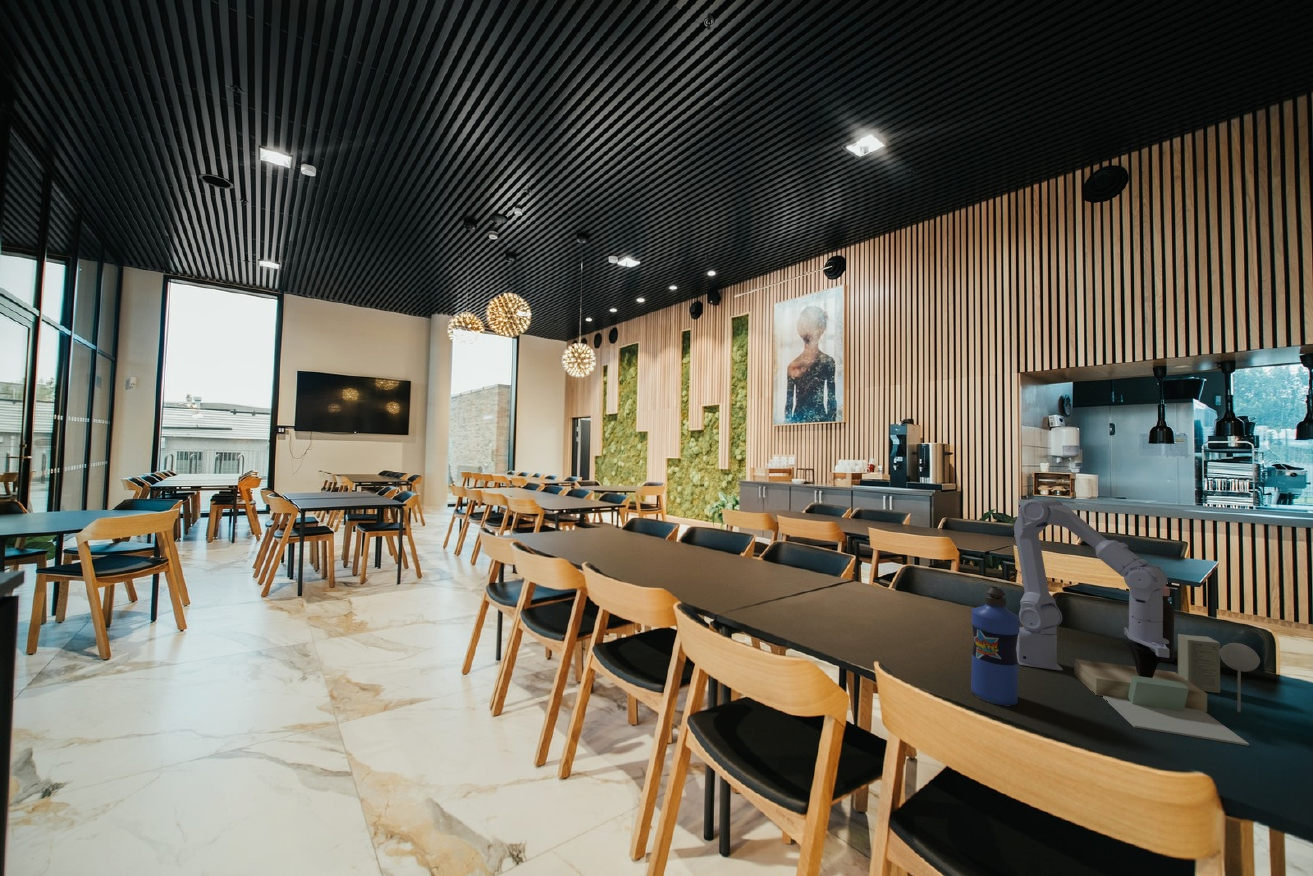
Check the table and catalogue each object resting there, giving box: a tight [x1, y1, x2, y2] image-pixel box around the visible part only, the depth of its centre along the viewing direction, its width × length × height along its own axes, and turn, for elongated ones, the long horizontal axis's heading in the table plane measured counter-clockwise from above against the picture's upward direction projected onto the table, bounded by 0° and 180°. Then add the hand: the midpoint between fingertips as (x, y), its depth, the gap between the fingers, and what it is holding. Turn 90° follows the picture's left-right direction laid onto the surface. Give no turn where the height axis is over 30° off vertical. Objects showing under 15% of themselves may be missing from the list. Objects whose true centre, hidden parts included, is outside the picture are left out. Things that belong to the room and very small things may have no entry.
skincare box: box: [1177, 633, 1221, 694], centre depth 128 cm, size 6×4×12 cm
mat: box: [1101, 695, 1250, 747], centre depth 112 cm, size 18×14×1 cm
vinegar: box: [1156, 585, 1175, 663], centre depth 146 cm, size 7×7×20 cm
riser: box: [1074, 658, 1208, 713], centre depth 124 cm, size 20×12×4 cm, turn 71°
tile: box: [1128, 675, 1189, 711], centre depth 116 cm, size 9×6×2 cm
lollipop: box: [1219, 642, 1261, 713], centre depth 116 cm, size 6×6×15 cm
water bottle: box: [970, 586, 1021, 706], centre depth 120 cm, size 9×9×25 cm
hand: (1145, 677), depth 121 cm, fingers closed
